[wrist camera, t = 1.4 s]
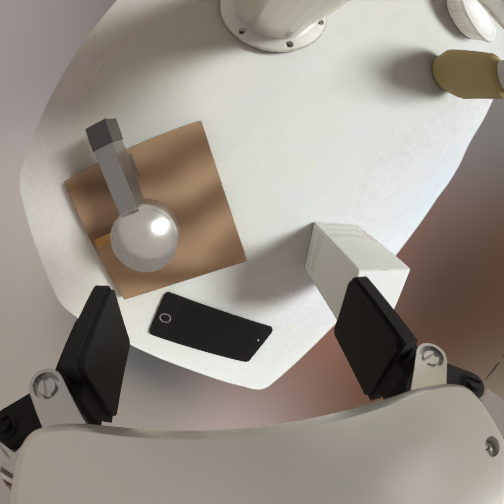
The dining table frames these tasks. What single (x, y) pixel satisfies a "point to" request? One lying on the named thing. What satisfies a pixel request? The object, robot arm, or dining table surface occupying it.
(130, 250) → the square-handled spoon
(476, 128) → the dining table surface
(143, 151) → the post base
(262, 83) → the dining table surface
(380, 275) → the supplement box
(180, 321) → the cell phone
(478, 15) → the ramekin
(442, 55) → the squeeze bottle
